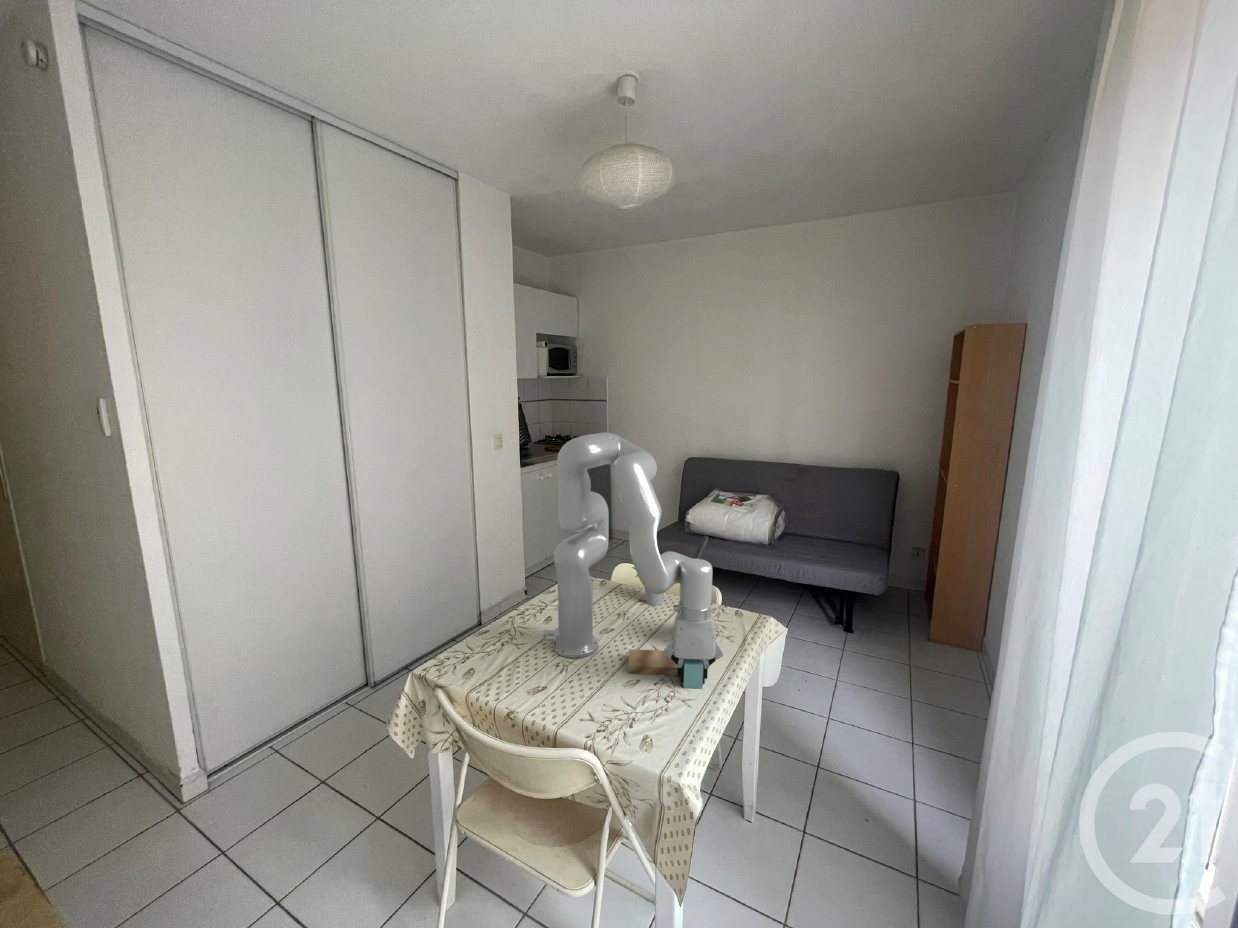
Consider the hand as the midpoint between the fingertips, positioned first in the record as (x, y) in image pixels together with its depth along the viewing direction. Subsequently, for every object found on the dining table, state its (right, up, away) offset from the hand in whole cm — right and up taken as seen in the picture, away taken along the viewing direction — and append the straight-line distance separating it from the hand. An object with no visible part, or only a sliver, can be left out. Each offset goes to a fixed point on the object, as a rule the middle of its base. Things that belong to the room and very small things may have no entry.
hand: (692, 679), depth 122 cm
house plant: (-6, +7, +46) cm, 46 cm away
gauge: (0, 0, +3) cm, 3 cm away
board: (-6, 0, +7) cm, 9 cm away
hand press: (+4, +3, +22) cm, 23 cm away
